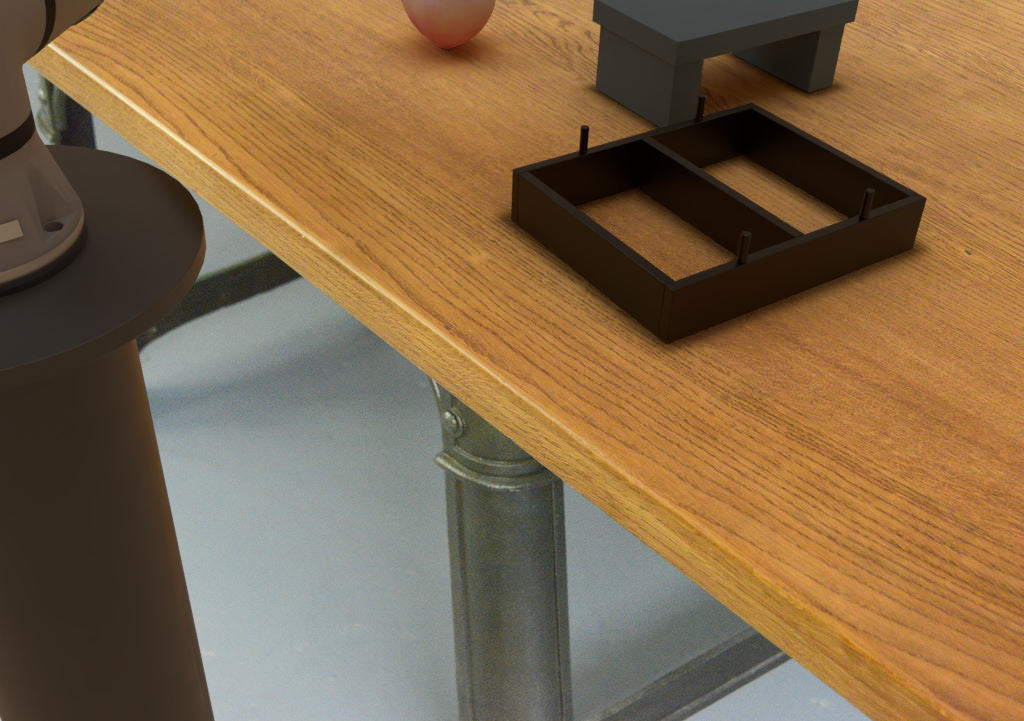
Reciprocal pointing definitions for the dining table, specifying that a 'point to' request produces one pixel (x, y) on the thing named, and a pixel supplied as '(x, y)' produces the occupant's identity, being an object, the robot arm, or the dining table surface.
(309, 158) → the dining table surface
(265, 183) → the dining table surface
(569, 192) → the rack
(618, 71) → the stand
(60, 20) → the robot arm
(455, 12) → the decorative fruit
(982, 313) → the dining table surface
